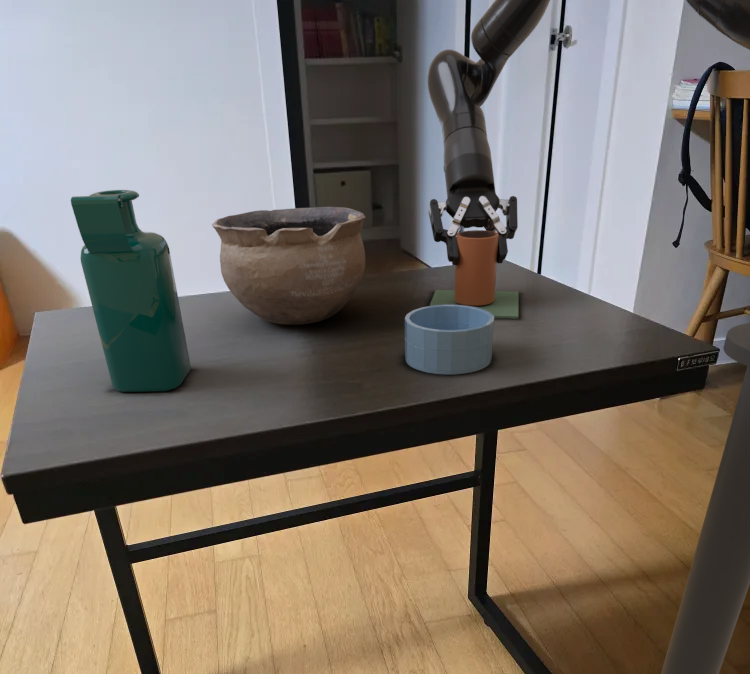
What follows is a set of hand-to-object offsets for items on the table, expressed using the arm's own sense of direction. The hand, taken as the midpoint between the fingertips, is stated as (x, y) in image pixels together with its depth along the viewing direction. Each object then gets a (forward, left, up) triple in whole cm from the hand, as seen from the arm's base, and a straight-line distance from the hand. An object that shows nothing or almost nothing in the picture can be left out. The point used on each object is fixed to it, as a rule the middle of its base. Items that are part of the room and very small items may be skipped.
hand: (478, 261), depth 103 cm
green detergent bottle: (+38, +36, -7) cm, 53 cm away
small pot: (0, -2, -6) cm, 7 cm away
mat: (0, -1, -7) cm, 7 cm away
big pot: (+2, +24, -7) cm, 25 cm away
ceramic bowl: (+27, +8, -7) cm, 29 cm away
